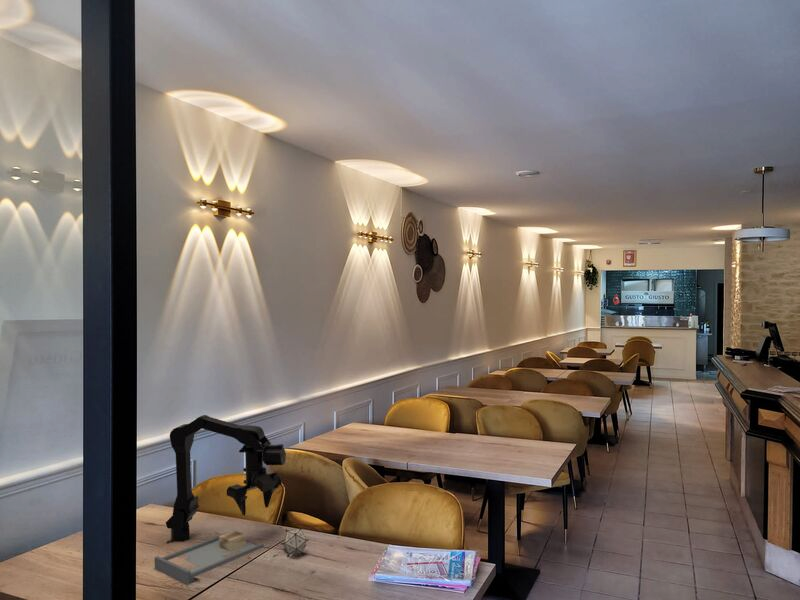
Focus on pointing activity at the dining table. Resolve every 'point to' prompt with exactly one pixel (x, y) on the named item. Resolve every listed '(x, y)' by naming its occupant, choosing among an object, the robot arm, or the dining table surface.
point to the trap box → (201, 559)
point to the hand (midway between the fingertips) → (255, 511)
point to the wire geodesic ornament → (294, 542)
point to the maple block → (232, 541)
